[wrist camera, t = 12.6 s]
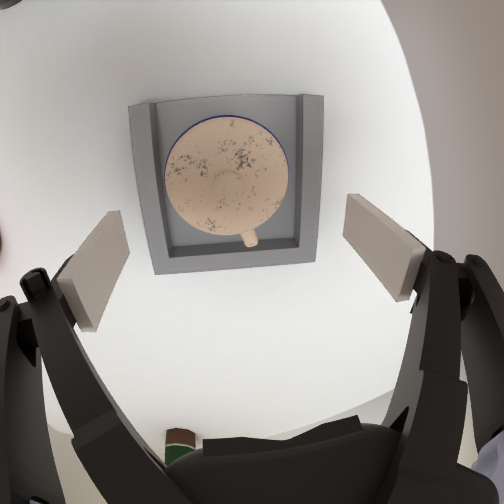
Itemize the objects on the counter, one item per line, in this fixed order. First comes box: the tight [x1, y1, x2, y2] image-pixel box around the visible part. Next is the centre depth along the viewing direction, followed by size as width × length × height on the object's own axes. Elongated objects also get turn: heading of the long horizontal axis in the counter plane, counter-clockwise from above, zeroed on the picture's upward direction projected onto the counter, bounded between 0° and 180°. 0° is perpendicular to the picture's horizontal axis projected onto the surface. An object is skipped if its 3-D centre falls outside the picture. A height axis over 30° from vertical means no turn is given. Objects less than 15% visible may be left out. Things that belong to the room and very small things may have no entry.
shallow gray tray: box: [128, 94, 324, 275], centre depth 27 cm, size 18×18×4 cm
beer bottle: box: [165, 428, 196, 466], centre depth 46 cm, size 8×8×24 cm
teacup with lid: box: [164, 115, 289, 247], centre depth 22 cm, size 12×9×12 cm
